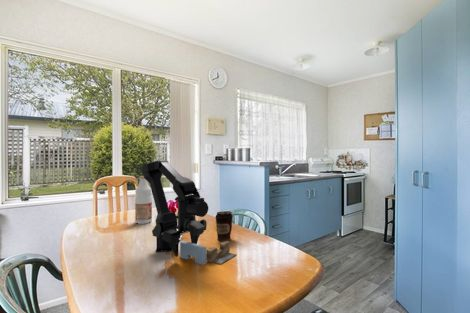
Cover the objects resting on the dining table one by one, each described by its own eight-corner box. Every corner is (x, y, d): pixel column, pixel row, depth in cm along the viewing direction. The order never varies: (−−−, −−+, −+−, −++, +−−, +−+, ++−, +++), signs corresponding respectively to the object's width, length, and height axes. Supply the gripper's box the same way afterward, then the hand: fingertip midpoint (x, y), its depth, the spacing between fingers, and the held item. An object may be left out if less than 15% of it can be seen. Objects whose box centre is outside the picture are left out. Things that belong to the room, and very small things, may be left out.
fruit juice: (132, 222, 149) (132, 176, 149) (147, 219, 156) (147, 175, 156) (139, 225, 142) (139, 177, 142) (154, 222, 149) (154, 176, 149)
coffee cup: (230, 243, 112) (230, 214, 112) (213, 242, 114) (213, 214, 114) (234, 237, 121) (234, 210, 121) (218, 236, 123) (218, 210, 123)
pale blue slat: (206, 262, 92) (206, 246, 92) (202, 264, 90) (202, 248, 90) (183, 255, 98) (183, 240, 98) (180, 257, 97) (180, 242, 97)
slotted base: (219, 265, 89) (219, 253, 89) (198, 259, 95) (198, 247, 95) (237, 254, 99) (237, 243, 99) (218, 249, 105) (218, 239, 105)
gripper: (181, 221, 84) (182, 266, 84) (216, 211, 100) (216, 249, 100) (160, 216, 91) (161, 258, 91) (196, 207, 106) (196, 244, 106)
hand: (185, 252), depth 97 cm, fingers open, 9 cm apart
